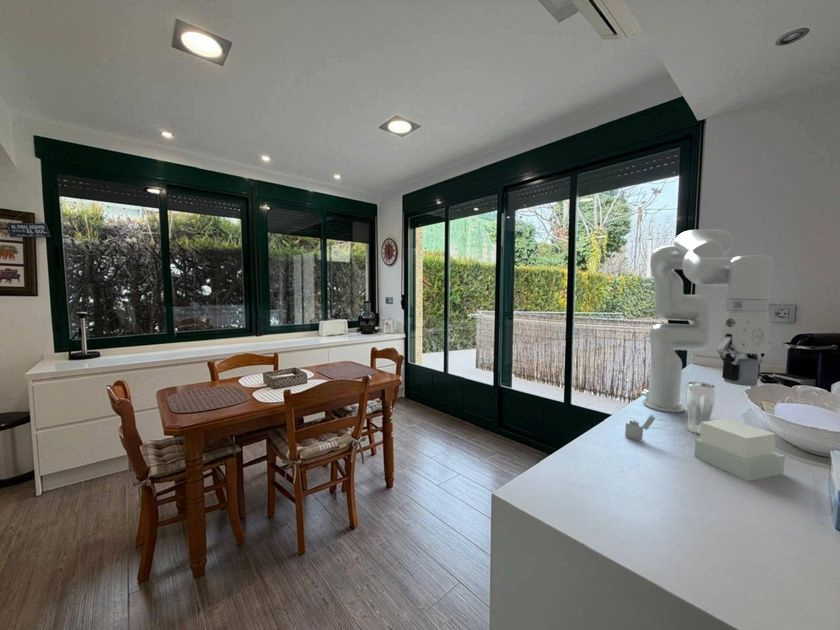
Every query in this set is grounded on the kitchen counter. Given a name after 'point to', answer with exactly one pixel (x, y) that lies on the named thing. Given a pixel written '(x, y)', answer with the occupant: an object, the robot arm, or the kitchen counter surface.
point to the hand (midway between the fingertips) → (740, 378)
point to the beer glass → (699, 404)
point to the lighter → (637, 428)
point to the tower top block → (737, 438)
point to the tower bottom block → (741, 462)
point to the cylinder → (746, 372)
